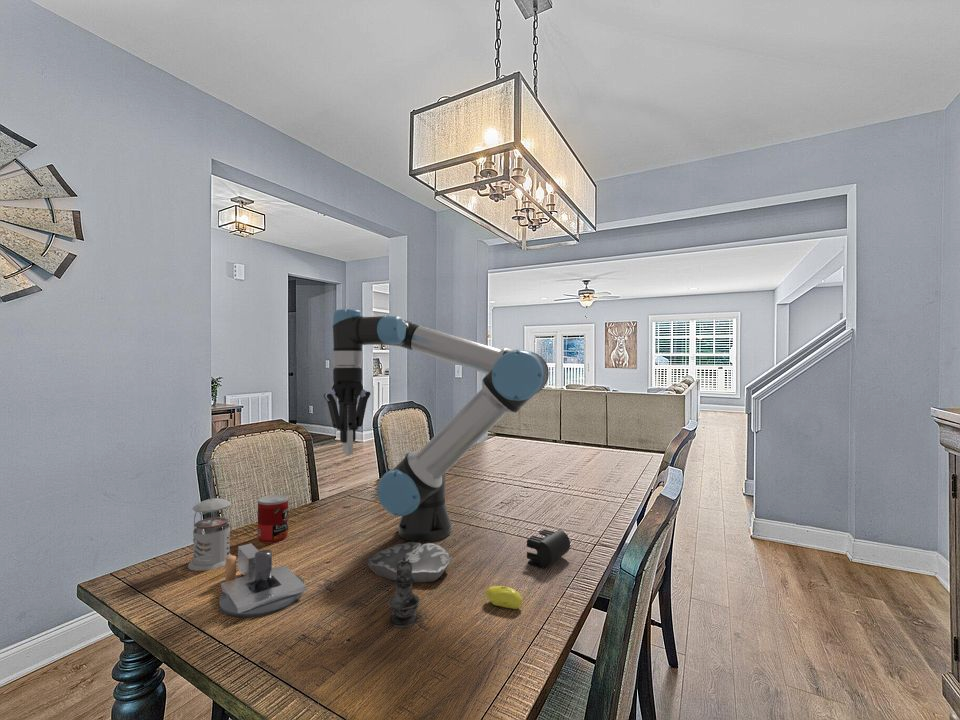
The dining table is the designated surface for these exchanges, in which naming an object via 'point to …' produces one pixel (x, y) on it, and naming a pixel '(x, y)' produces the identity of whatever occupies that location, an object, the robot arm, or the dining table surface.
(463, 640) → the dining table surface
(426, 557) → the brain slice
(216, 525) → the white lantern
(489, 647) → the dining table surface
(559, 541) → the end cap
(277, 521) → the canned food
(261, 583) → the post base
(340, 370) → the robot arm
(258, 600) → the grey plastic holder
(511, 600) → the lemon
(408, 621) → the dark grey chess piece
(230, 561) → the dowel
